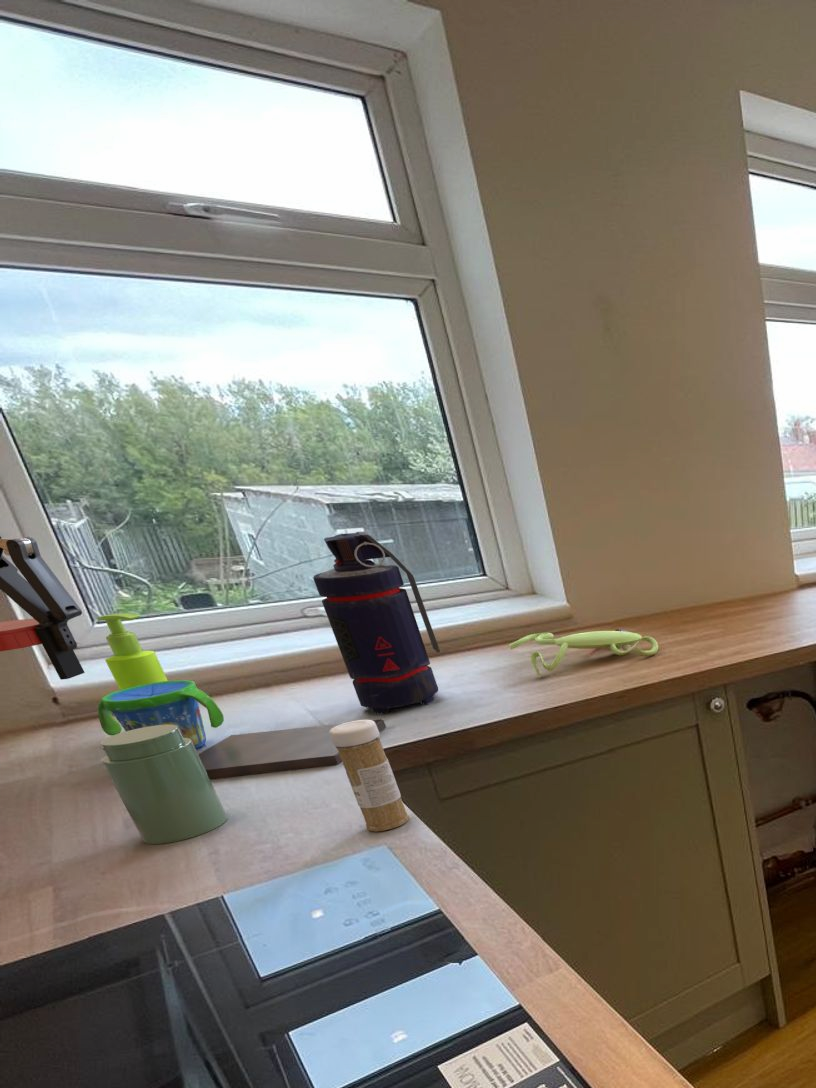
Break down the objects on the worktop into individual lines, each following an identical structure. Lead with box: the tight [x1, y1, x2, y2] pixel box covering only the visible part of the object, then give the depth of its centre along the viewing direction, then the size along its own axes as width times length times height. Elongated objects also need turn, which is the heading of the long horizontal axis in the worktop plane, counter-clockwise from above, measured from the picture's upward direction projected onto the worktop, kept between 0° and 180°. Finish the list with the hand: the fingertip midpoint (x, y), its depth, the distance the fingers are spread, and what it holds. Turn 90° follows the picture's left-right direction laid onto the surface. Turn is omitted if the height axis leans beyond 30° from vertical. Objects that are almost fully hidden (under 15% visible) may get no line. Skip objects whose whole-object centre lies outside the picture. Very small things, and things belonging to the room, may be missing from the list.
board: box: [198, 718, 387, 780], centre depth 126 cm, size 22×16×2 cm
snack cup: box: [97, 679, 225, 750], centre depth 128 cm, size 16×10×10 cm
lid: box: [0, 618, 42, 652], centre depth 99 cm, size 9×9×2 cm
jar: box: [100, 725, 228, 845], centre depth 101 cm, size 8×8×13 cm
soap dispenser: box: [96, 612, 169, 690], centre depth 136 cm, size 6×7×20 cm
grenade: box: [312, 531, 441, 715], centre depth 142 cm, size 14×12×30 cm
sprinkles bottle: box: [329, 719, 410, 832], centre depth 99 cm, size 5×5×13 cm
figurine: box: [508, 628, 659, 678], centre depth 169 cm, size 18×27×6 cm
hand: (29, 680), depth 102 cm, fingers closed on lid, 8 cm apart
